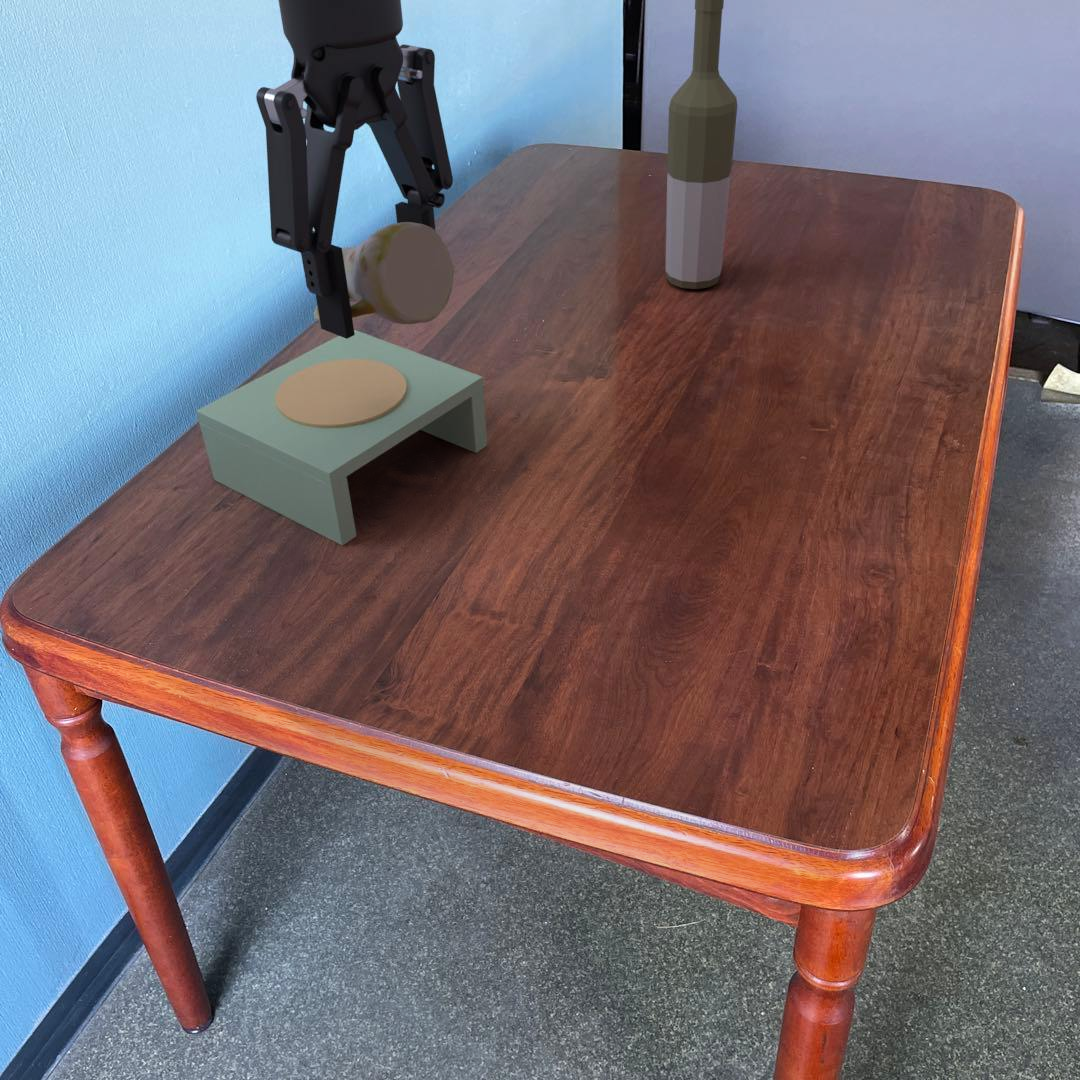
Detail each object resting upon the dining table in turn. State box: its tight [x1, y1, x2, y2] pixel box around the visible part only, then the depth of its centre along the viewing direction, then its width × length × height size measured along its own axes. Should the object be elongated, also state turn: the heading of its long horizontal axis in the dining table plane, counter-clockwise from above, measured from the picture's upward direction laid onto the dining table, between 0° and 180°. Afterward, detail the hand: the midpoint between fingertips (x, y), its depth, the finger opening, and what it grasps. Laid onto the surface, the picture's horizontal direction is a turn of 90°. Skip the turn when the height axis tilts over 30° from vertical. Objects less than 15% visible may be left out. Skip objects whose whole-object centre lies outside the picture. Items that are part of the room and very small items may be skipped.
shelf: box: [195, 329, 488, 546], centre depth 93 cm, size 16×18×7 cm
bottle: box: [664, 0, 738, 290], centre depth 113 cm, size 7×7×30 cm
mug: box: [313, 222, 455, 325], centre depth 78 cm, size 8×10×10 cm
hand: (380, 309), depth 80 cm, fingers closed on mug, 8 cm apart
